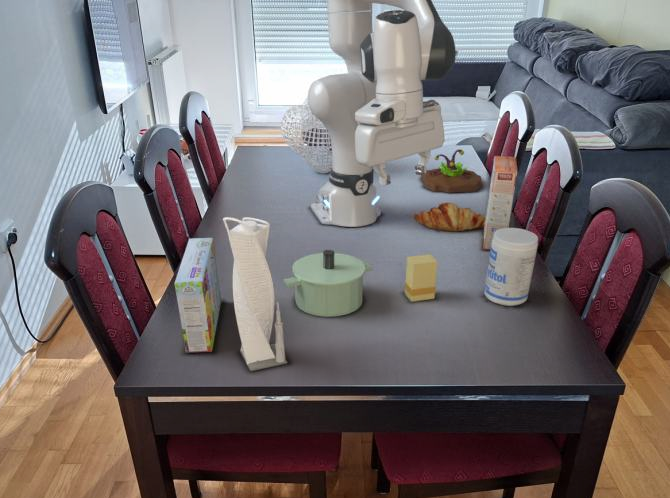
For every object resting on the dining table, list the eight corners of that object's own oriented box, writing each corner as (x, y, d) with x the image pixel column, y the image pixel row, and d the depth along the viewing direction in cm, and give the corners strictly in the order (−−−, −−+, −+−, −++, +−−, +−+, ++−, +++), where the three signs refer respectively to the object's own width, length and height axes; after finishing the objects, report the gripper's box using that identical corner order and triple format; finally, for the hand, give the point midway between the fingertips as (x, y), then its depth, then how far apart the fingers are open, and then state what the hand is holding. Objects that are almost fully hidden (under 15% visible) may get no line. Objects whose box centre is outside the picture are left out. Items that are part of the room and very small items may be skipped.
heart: (280, 179, 217) (277, 110, 206) (285, 166, 231) (282, 100, 219) (364, 180, 217) (365, 111, 206) (363, 167, 231) (365, 101, 219)
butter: (404, 293, 145) (406, 256, 141) (427, 290, 147) (430, 253, 142) (411, 301, 142) (413, 264, 137) (434, 298, 144) (438, 261, 139)
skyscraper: (242, 372, 118) (230, 226, 103) (231, 351, 124) (217, 210, 109) (287, 363, 121) (280, 219, 106) (273, 342, 127) (265, 204, 112)
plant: (486, 193, 206) (490, 158, 200) (424, 193, 206) (427, 157, 201) (476, 175, 223) (479, 142, 218) (419, 174, 224) (421, 141, 218)
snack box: (196, 302, 141) (187, 237, 133) (222, 301, 141) (215, 236, 134) (183, 354, 123) (172, 282, 115) (213, 353, 123) (205, 281, 116)
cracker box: (506, 252, 166) (518, 171, 155) (482, 250, 167) (492, 169, 156) (505, 232, 178) (517, 156, 167) (483, 230, 179) (493, 154, 168)
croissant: (486, 235, 185) (488, 207, 184) (492, 231, 175) (494, 201, 174) (411, 231, 186) (413, 203, 185) (413, 227, 176) (415, 197, 175)
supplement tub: (475, 296, 145) (483, 234, 137) (500, 284, 150) (509, 223, 143) (511, 311, 139) (522, 247, 131) (536, 298, 144) (547, 236, 137)
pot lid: (281, 265, 142) (280, 245, 139) (344, 252, 148) (344, 233, 145) (310, 294, 130) (310, 273, 127) (378, 279, 136) (379, 258, 134)
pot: (274, 296, 144) (272, 265, 140) (353, 279, 152) (354, 249, 148) (300, 325, 133) (299, 292, 129) (385, 305, 141) (386, 273, 137)
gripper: (428, 96, 130) (430, 166, 137) (347, 114, 120) (353, 188, 127) (451, 98, 126) (451, 170, 132) (368, 117, 116) (373, 193, 122)
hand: (403, 179), depth 130 cm, fingers open, 8 cm apart
